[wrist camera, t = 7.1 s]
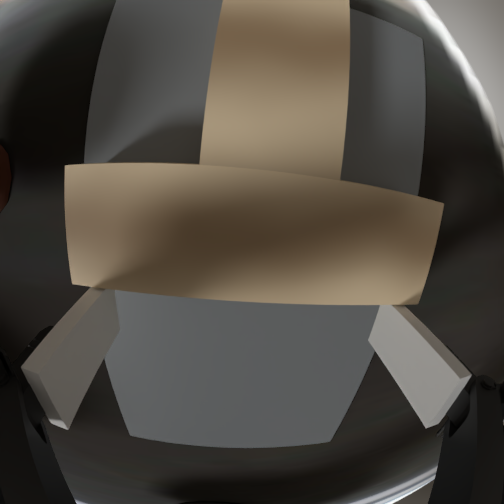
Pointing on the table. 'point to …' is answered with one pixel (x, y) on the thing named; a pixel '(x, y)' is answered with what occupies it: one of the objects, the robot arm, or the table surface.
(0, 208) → the ice cream bowl
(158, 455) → the table surface
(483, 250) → the table surface
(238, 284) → the t block
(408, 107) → the push board
